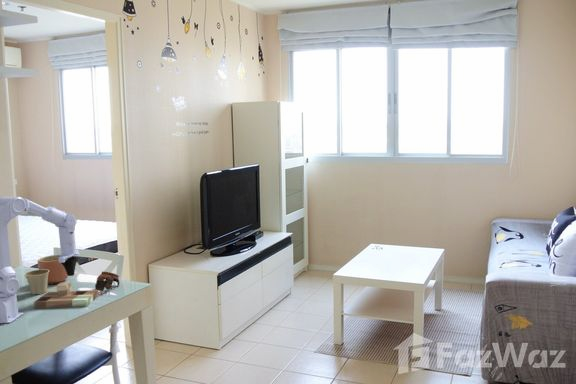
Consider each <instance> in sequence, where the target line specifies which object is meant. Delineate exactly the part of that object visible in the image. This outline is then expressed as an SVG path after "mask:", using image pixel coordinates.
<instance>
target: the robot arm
mask: <svg viewBox="0 0 576 384" xmlns="http://www.w3.org/2000/svg"><path fill="white" fill-rule="evenodd" d="M24 212H29V213H32V214H35V215H39V216H40V217H41V219H42V220H43V221H45V222H47V223H50V224H53V225H55V227H56V228H58V235H59V247H60V254H59V255H60V257H59V263H62V264H63V266H64V268H65V270H66V272H67V275H68V277H73V276H75V273H76V265H77V262H78V259H79V257H78V256H79V255H80V252H79V249H78V248H77V247H76V235H75V230H76V224H77V221H78V220H77V219H76V217H75V215H73V214H72V213H66V211H65V210H61V209H57V208H56V206H53V205H50V206H46V207H45V206H42V205H40V204H38V203H36V202H34V201H31V200H29V199H28V198H25V197H24V198H23V197H21V196H5V195H1V196H0V324H10V323H13V322H14V321H15V320H17V319H18V318H20V317H21V316H22V315H24V312H20V311H19V308H18V307H19V306H18V298H17V293H18V290H19V289H20V285H21V284H20V280H19V279H18V276H17V272H16V271H15V270H14V268H13V267H12V261H11V251H10V239H9V230H8V229H9V227H8V224H10V222H11V220H13V219H15V218H16V217H18V216H20V215H22V213H24Z"/></svg>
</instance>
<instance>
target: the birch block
mask: <svg viewBox="0 0 576 384" xmlns="http://www.w3.org/2000/svg"><path fill="white" fill-rule="evenodd" d="M55 285H56V284H55ZM72 291H73V289H72V282H71V281H66V282H65V281H63V282H61V283H57V285H56V292H57V295H68V294H70V293H71V292H72Z"/></svg>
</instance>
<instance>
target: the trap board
mask: <svg viewBox="0 0 576 384" xmlns="http://www.w3.org/2000/svg"><path fill="white" fill-rule="evenodd" d="M99 297H100V295H99V291H98V290H95V289H93V290H91V289H90V290H89V289H88V290H86V289H85V290H72V292H71V293H70V294H68V295H57V291H47V292H45V293H44V294H43V295H42V296H40V297H39V298H38V299H36V300H34V302H33V304H34V309H45V308H47V309H48V308H70V307H71V308H72V307H73V308H74V307H76V308H77V307H88V306H89V305H90V304H92V303H93V302H94V301H95V300H96V299H97V298H99Z"/></svg>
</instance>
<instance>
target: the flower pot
mask: <svg viewBox="0 0 576 384" xmlns="http://www.w3.org/2000/svg"><path fill="white" fill-rule="evenodd" d="M48 273H49V270H46V269H41V270H39V269H35V270H34V269H33V270H30V271H27V272H26V273H24V277H25V279H26V281H27V285H28V287H29V290H30V294H31V295H42V294H46V293H47V292H48V284H47V283H48Z"/></svg>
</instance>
